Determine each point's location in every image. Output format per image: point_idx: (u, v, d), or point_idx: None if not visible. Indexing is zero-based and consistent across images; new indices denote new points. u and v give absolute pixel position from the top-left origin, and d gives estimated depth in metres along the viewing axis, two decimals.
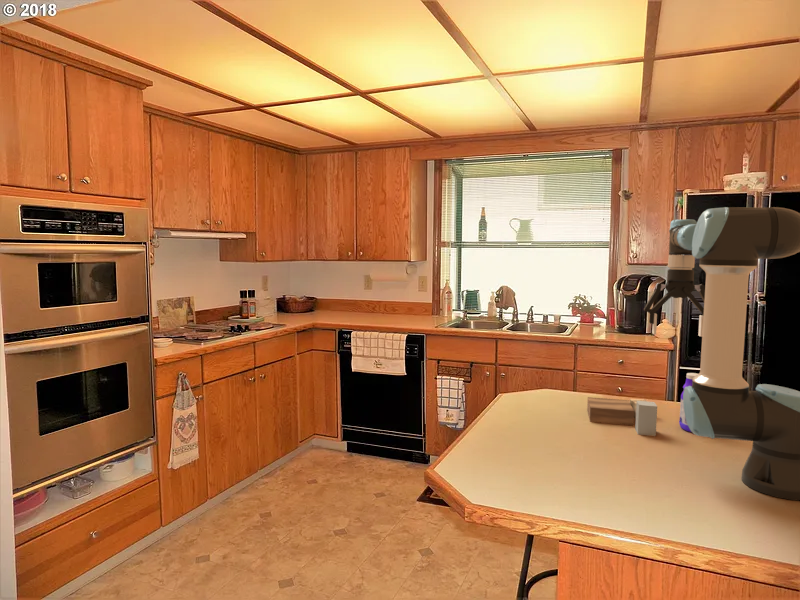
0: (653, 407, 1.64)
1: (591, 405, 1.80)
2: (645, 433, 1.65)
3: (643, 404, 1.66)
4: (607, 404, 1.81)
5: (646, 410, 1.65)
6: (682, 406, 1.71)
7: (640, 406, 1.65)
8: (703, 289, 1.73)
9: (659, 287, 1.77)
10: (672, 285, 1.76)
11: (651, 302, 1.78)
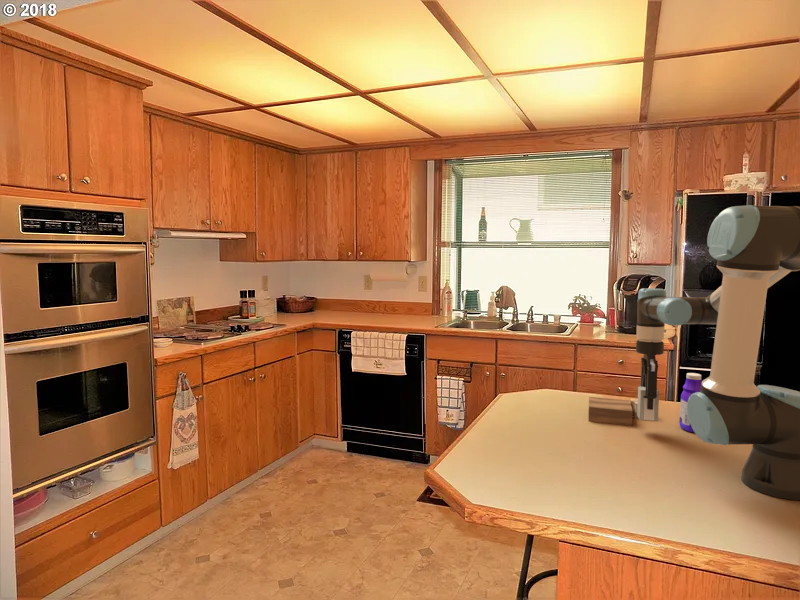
0: None
1: (590, 405, 1.80)
2: None
3: (645, 389, 1.65)
4: (607, 404, 1.81)
5: None
6: (682, 406, 1.71)
7: (642, 391, 1.64)
8: (648, 369, 1.60)
9: None
10: (644, 355, 1.68)
11: (641, 378, 1.71)
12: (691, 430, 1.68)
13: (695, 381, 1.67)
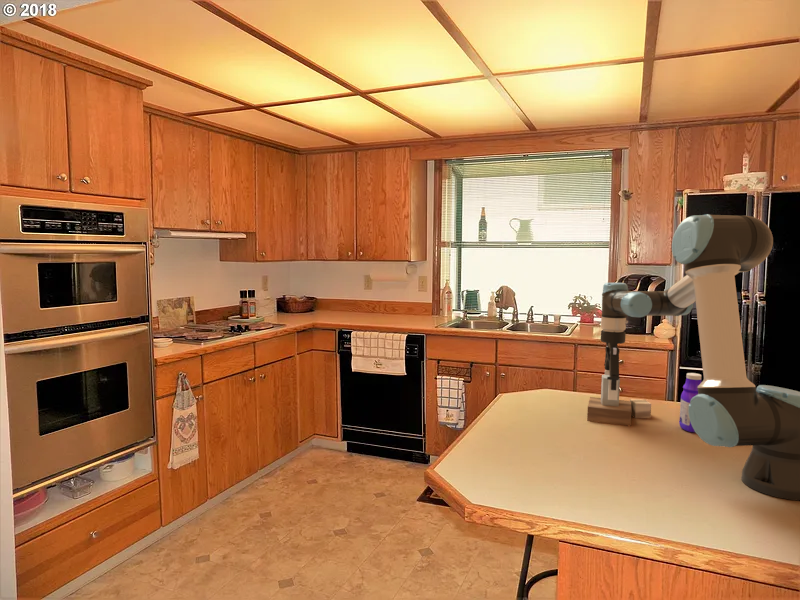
0: None
1: (589, 404, 1.81)
2: (609, 404, 1.80)
3: None
4: None
5: None
6: (682, 406, 1.71)
7: (604, 379, 1.79)
8: (610, 352, 1.74)
9: (606, 345, 1.87)
10: (608, 345, 1.83)
11: (605, 358, 1.89)
12: (691, 430, 1.68)
13: (695, 381, 1.67)
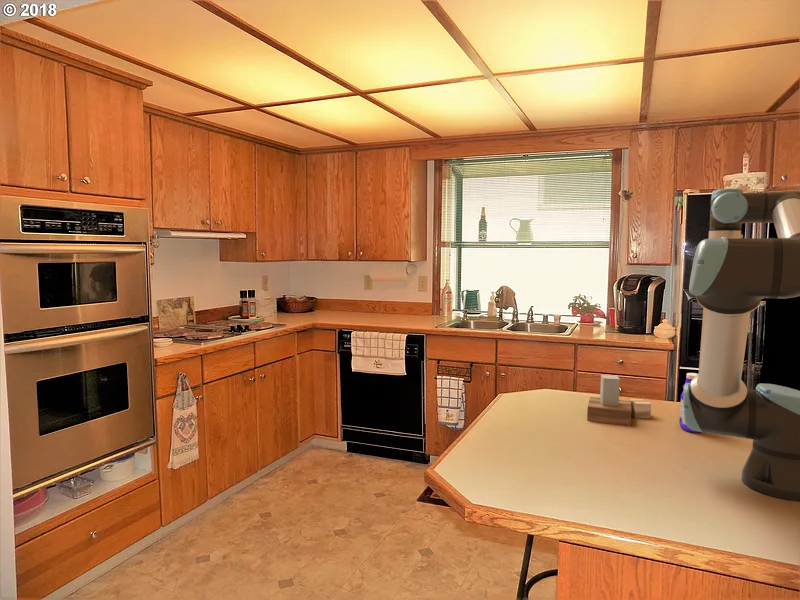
0: (616, 380, 1.79)
1: (589, 404, 1.81)
2: (609, 404, 1.80)
3: (607, 377, 1.80)
4: None
5: (610, 383, 1.79)
6: (682, 406, 1.71)
7: (604, 379, 1.79)
8: None
9: None
10: None
11: None
12: (691, 430, 1.68)
13: None
